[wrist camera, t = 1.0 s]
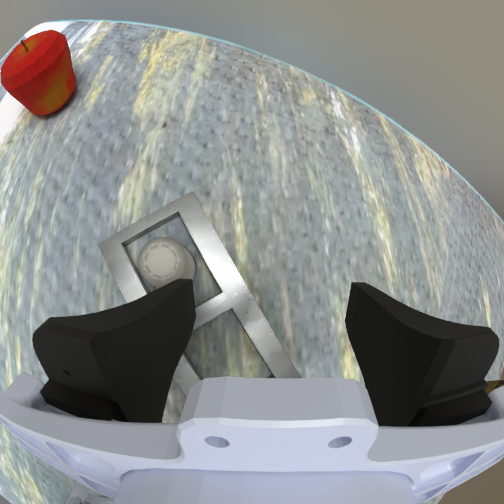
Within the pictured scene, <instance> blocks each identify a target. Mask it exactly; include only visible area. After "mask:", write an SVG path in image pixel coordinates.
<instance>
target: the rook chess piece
mask: <svg viewBox="0 0 504 504" xmlns="http://www.w3.org/2000/svg"><path fill="white" fill-rule="evenodd" d="M138 263H139V270H140V272H141V274H142V276H143V278H144V279H145V280H146V281H147V282H148V283H150V284H151V285H153V286H154V287H156V288H157V289H158V288H160V287H162V286H164V285H166V284H168V283H170V282H172V281H174V280H176V279H179V278H183V279H192V282H193V281H194V278H195V274H196V262H195V260H194V258H193V256H192V254H191V252H190V251H188V250H187V249H186V248H185V247H183V246H182V245H180V244H179V243H177V242H176V241H175V240H173V239H170V238H167V237H161V238H155V239H153V240H151V241H149V242H148V243H147V244H146V245H145V246H144V247H143V249H142V250H141V252H140V256H139V259H138Z"/></svg>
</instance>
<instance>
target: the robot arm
mask: <svg viewBox="0 0 504 504" xmlns="http://www.w3.org/2000/svg"><path fill="white" fill-rule="evenodd" d="M195 320H196V311H195V302H194V293H193V283H192V279H183V278H179V279H176V280H174V281H172V282H170V283H168V284H166V285H164V286H162V287H160V288H158V289H156V290H155V291H153V292H151V293H149V294H147V295H144V296H142V297H140V298H138V299H136V300H134V301H132V302H129V303H127V304H124V305H121V306H118V307H115V308H112V309H108V310H104V311H100V312H96V313H91V314H86V315H79V316H69V317H50V318H49V319H48V320H46V321H45V322H44V323H43V324H42V325H41V326H40V327H39V328H38V329H37V330H35V332H34V333H33V339H32V341H33V347H34V350H35V352H36V355H37V357H38V359H39V361H40V363H41V365H42V367H43V369H44V371H45V373H46V374H47V376H48V378H49V380H48V382H47V383H46V384H44V383H43V382H42V381H41V380H40V379H38V378H36V377H34V376H32V375H30V374H28V373H26V372H22V373H21V374H20V375H19V376H18V377H17V378H16V379H15V381H14V382H13V383H12V384H11V385H10V386H9V388H8V389H7V390H6V391H5V392H4V393H3V395H2V396H1V397H0V421H1V422H2V423H3V424H4V426H5V427H6V428H7V429H8V430H9V431H10V433H11V434H12V435H13V436H14V437H15V438H16V439H17V440H18V442H19V443H20V444H21V445H22V446H23V447H24V448H25V449H27V450H28V451H29V452H31V453H32V454H34V455H35V456H37V457H38V458H40V459H41V460H43V461H44V462H46V463H48V464H49V465H51V466H52V467H54V468H55V469H57V470H59V471H60V472H62V473H64V474H65V475H67V476H69V477H70V478H72V479H74V480H76V483H75V485H74V487H73V489H72V490H71V494H70V498H68V499H67V500H66V501H65V503H64V504H420V503H422V502H425V501H427V500H429V499H432V498H434V497H436V496H438V495H440V494H442V493H444V492H446V491H448V490H450V489H452V488H454V487H456V486H458V485H460V484H461V483H463V482H465V481H467V480H468V479H470V478H472V477H474V476H476V475H477V474H479V473H481V472H482V471H484V470H486V469H487V468H489V467H491V466H492V465H494V464H495V463H497V462H498V461H500V460H501V459H502V458H503V457H504V385H503V386H501V387H499V388H497V389H495V390H493V391H491V392H490V393H489V394H488V395H487V393H486V392H485V390H484V389H486V387H487V383H486V381H485V380H484V378H485V376H486V375H487V373H488V371H489V369H490V368H491V366H492V364H493V362H494V360H495V358H496V356H497V353H498V349H499V338H498V336H497V335H496V334H495V333H494V332H493V331H492V330H491V328H489V327H483V326H472V325H465V324H459V323H454V322H450V321H446V320H442V319H439V318H436V317H433V316H430V315H427V314H425V313H422V312H420V311H417V310H415V309H413V308H411V307H409V306H407V305H405V304H403V303H401V302H399V301H397V300H395V299H394V298H392V297H390V296H388V295H387V294H385V293H383V292H382V291H380V290H378V289H377V288H375V287H373V286H371V285H369V284H367V283H364V282H352V283H351V290H350V296H349V301H348V307H347V312H346V318H345V323H346V328H347V333H348V337H349V340H350V343H351V345H352V348H353V351H354V353H355V356H356V359H357V361H358V364H359V367H360V369H361V372H362V375H363V378H364V382H365V387H366V388H365V387H363V386H362V385H361V384H360V383H359V382H358V381H356V380H352V379H344V378H336V377H328V378H250V377H233V376H225V377H215V378H204V379H203V380H201V381H200V382H198V383H197V384H195V385H194V386H192V387H190V390H189V393H188V396H187V399H186V402H185V405H184V408H183V411H182V414H181V417H180V420H179V423H161V422H162V417H163V412H164V408H165V404H166V400H167V396H168V392H169V389H170V385H171V382H172V378H173V375H174V373H175V370H176V368H177V365H178V363H179V361H180V359H181V357H182V354H183V352H184V350H185V348H186V346H187V343H188V341H189V339H190V337H191V334H192V331H193V327H194V324H195Z"/></svg>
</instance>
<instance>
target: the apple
mask: <svg viewBox="0 0 504 504" xmlns="http://www.w3.org/2000/svg"><path fill="white" fill-rule="evenodd" d="M1 83H2V85H3V87H4V88H5V89H6V90H7V91H8V92H9V93H10V94H11V95H12V96H13V97H14V98H15V99H17V100H18V101H19V102H20V103H22V104H23V105H24V106H25V107H26V108H27V109H28V110H29V111H30V112H31V113H32V114H34V115H39V116H42V115H47V114H51V113H54V112H56V111H58V110H59V109H61V108H62V107H63V106H64V104H65V103H66V102H67V100H68V99H69V97H70V96H71V94H72V93H73V91H74V90H75V86H76V78H75V75H74V71H73V68H72V62H71V55H70V50H69V47H68V43H67V40H66V37H65V35H63V34H61V33H59V32H57V31H54V30H48V31H43V32H40V33H37V34H35V35H33V36H30V37H29V38H27V39H26V40H24V41H23V40H21V43H20V44H19V45H18V46H17V47H16V48H15V49H14V50H13V51H12V52H11V54H10V55H9V56H8V57H7V58H6V60H5V62H4V64H3V65H2V67H1Z"/></svg>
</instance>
